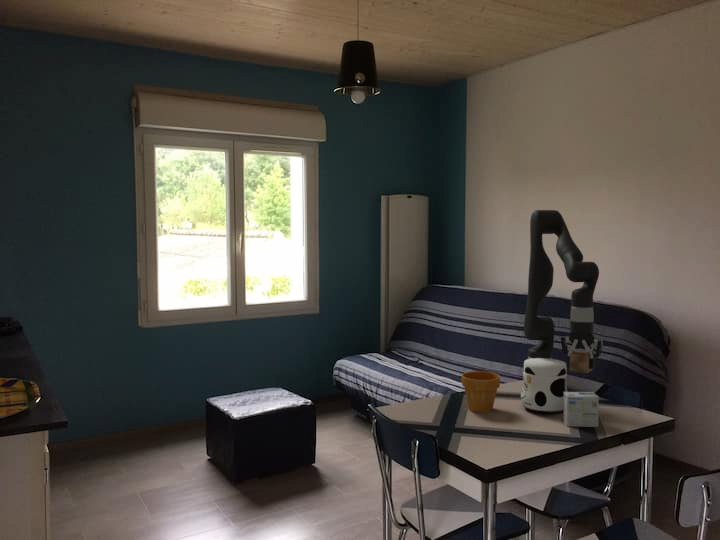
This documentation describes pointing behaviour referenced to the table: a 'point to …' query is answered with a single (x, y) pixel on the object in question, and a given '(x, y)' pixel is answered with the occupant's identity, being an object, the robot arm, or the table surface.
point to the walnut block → (579, 362)
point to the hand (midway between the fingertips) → (581, 367)
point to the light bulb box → (581, 409)
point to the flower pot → (480, 390)
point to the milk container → (544, 385)
